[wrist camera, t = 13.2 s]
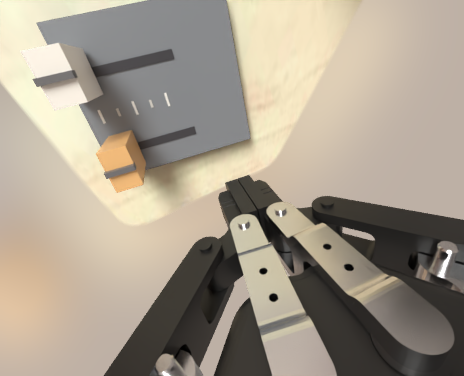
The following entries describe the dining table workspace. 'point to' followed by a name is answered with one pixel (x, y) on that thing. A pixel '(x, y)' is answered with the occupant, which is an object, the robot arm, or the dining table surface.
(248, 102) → the dining table surface
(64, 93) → the cream fader
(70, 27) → the console
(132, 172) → the orange fader
